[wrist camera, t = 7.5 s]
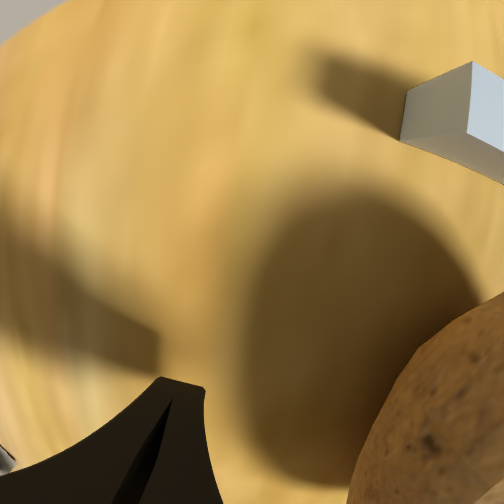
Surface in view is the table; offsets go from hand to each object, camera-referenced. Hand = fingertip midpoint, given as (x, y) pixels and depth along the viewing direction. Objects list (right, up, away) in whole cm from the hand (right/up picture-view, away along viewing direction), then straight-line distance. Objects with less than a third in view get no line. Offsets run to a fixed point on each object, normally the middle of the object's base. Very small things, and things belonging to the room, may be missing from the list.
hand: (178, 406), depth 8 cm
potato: (+10, -2, +2) cm, 10 cm away
